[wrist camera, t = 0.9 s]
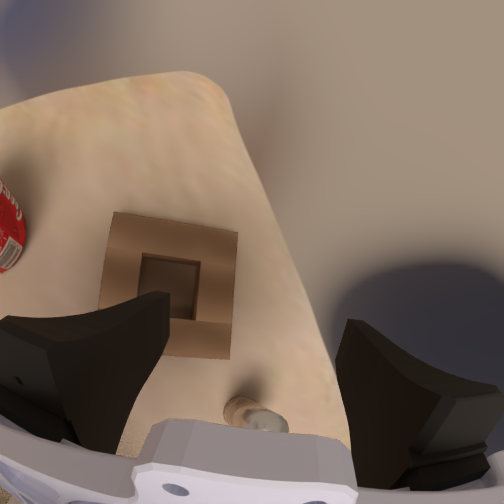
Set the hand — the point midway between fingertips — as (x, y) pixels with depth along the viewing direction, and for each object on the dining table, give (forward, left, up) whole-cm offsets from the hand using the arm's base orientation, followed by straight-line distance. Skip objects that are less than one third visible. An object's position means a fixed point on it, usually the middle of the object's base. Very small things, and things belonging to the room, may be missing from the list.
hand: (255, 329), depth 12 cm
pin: (-7, -4, -13) cm, 16 cm away
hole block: (+3, +3, -13) cm, 14 cm away
